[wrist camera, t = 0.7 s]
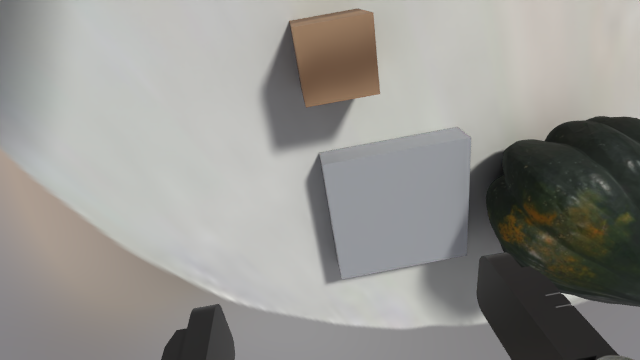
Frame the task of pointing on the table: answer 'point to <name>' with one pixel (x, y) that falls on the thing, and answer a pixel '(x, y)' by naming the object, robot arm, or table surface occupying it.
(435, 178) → the stone coaster
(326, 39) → the walnut cube
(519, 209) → the squash
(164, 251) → the table surface
